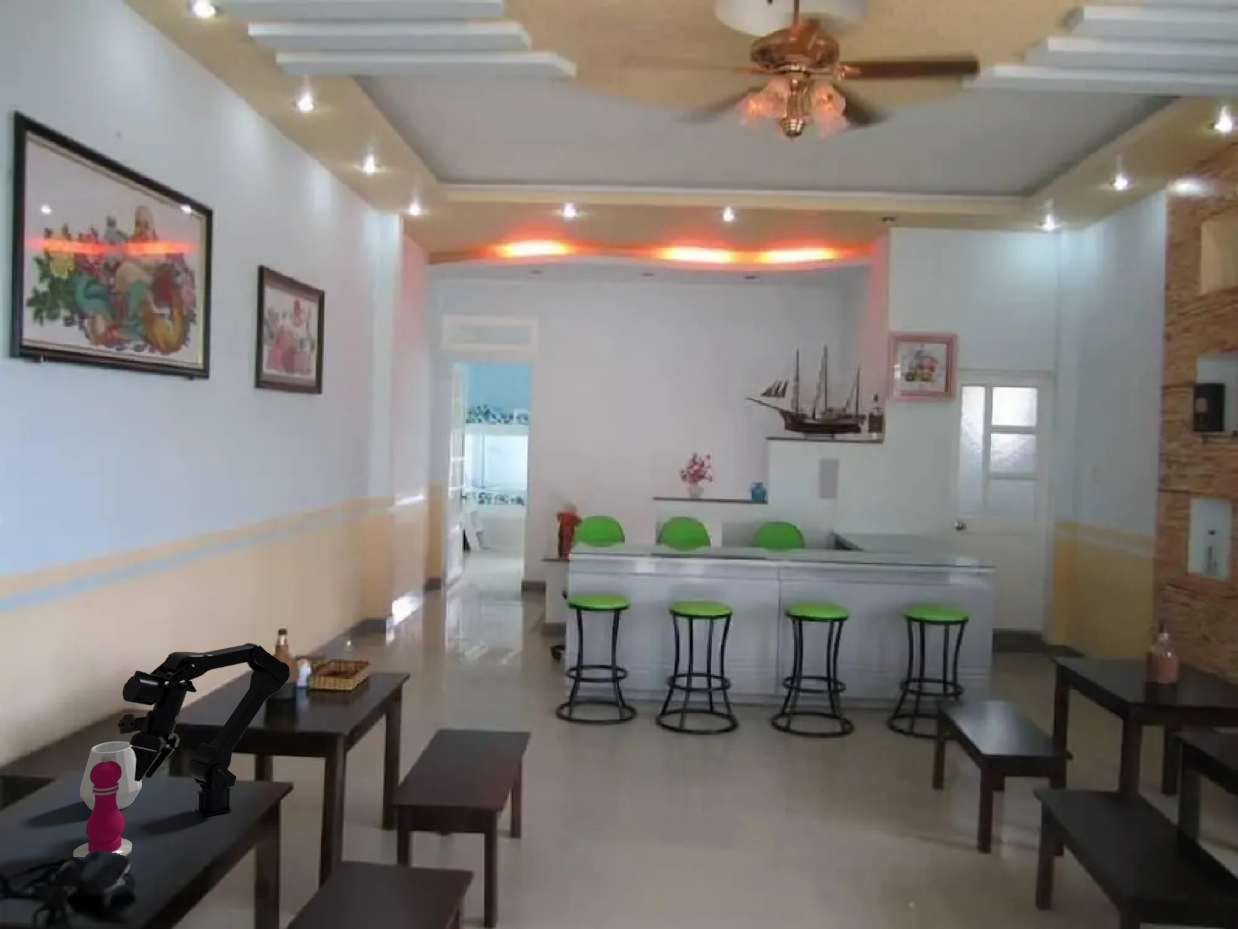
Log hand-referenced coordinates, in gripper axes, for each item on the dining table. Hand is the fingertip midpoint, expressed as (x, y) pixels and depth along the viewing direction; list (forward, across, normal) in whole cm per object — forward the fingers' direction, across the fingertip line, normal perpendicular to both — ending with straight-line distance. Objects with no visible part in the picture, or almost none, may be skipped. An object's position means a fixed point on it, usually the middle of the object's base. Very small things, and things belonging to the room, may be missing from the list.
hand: (142, 779), depth 216 cm
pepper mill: (+14, +5, -2) cm, 15 cm away
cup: (+10, -22, -10) cm, 26 cm away
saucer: (+15, +6, -2) cm, 16 cm away
